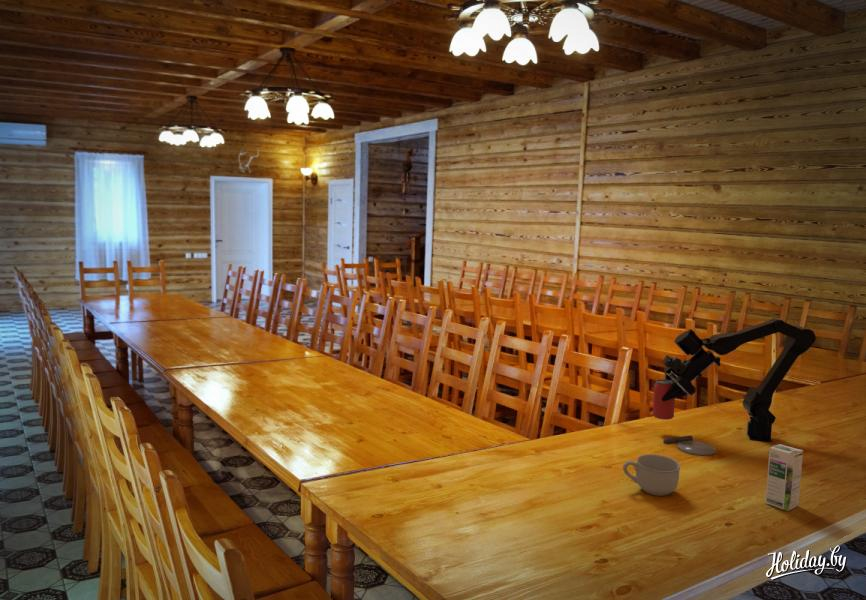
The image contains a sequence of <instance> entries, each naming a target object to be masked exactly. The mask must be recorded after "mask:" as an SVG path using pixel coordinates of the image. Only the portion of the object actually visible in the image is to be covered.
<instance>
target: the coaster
mask: <svg viewBox="0 0 866 600" xmlns="http://www.w3.org/2000/svg"><path fill="white" fill-rule="evenodd" d="M676 446H677V447H676V449H678V450H679V451H681V452H682V453H685V454H689V455H694V456H713V455H715V454H716V453H717V452H716V451H717V448H716V447H715V446H714V445H712V444H709V443H707V442H702V441H696V440H690V441H682V442H677V445H676Z"/></svg>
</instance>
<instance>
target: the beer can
mask: <svg viewBox="0 0 866 600" xmlns="http://www.w3.org/2000/svg"><path fill="white" fill-rule="evenodd" d="M671 387H672V381H671V380H665V379H656V380H655V383H654V386H653V399H652V400H653V405H652V416H653V417H654V418H655V419H659V420H672V419H673V418H675V401H676V398H674V399H670V400H667V401H663V400H662V397H663V396H664V395H665V394H666V392H667V391H668V390H669V389H670V388H671Z"/></svg>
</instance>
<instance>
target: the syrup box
mask: <svg viewBox="0 0 866 600" xmlns="http://www.w3.org/2000/svg"><path fill="white" fill-rule="evenodd" d="M803 457H804V450H803V449H799V448H795V447H792V446H789V445H788V446H787V445H784V444H782V443H781V444H776V445H773V446H770V447H769V453H768V464H767V468H768V469H767V480H766V481H767V482H766V492H765V501H764V504H765V505H769V506H771V507H775V508H778V509H780V510H784V511H786V512H789V511H791V510H792V509H794V508H796V507H799V500H800V493H801V492H800V491H801V478H802V465H803Z"/></svg>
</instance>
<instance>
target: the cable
mask: <svg viewBox="0 0 866 600" xmlns="http://www.w3.org/2000/svg"><path fill="white" fill-rule="evenodd" d="M682 441H694V437H693V436H692V435H690V434H689V435H684V436H683V435H682V436H676V437H675V436H674V437H668V438H664V439H663V442H662V443H663V444H665V445H668V444H675V443H679V442H682Z"/></svg>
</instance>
